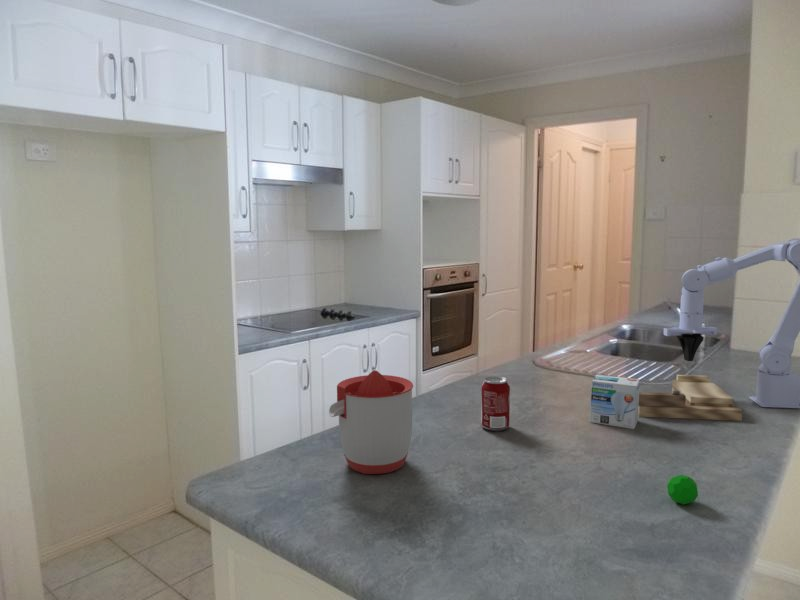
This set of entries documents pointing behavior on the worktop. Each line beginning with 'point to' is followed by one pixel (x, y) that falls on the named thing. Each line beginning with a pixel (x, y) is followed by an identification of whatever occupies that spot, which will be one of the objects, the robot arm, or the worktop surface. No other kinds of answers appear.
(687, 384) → the lid
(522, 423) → the worktop surface
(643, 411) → the brown piece
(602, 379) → the light bulb box
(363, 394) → the citrus juicer
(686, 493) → the polyhedron
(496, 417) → the soda can
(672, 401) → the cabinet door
